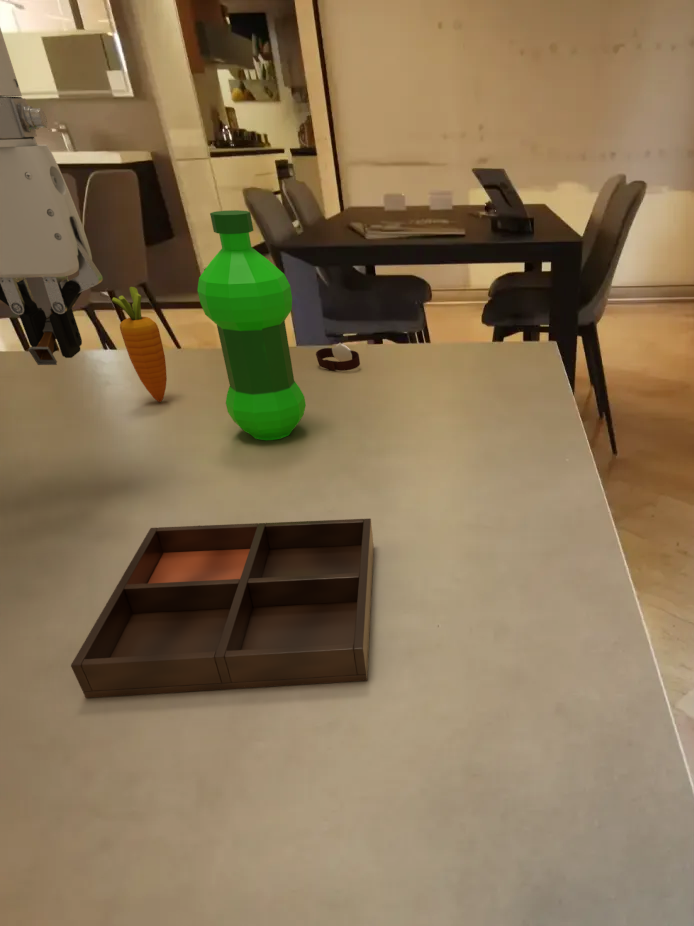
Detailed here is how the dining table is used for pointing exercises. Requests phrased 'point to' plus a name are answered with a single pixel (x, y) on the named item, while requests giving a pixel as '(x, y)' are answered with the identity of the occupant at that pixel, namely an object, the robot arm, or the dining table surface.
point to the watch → (342, 354)
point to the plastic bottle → (251, 330)
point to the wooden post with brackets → (45, 346)
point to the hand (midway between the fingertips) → (60, 353)
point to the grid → (235, 610)
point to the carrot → (143, 346)
